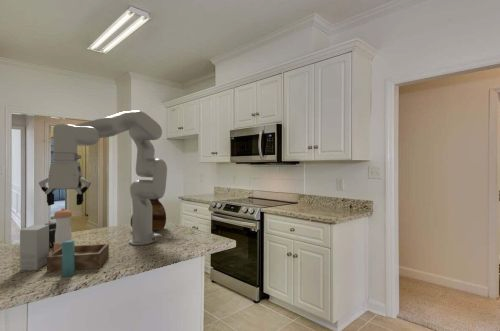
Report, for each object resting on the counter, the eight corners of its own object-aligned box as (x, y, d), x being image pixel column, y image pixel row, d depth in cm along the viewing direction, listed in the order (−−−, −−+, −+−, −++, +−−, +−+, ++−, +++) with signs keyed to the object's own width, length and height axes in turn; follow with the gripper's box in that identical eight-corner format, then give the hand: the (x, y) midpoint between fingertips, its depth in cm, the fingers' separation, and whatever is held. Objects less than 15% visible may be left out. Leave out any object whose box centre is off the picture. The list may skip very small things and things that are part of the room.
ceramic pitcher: (165, 233, 168) (165, 180, 167) (127, 235, 163) (127, 181, 163) (167, 225, 187) (167, 178, 186) (133, 227, 183) (133, 179, 182)
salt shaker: (52, 252, 132) (52, 210, 131) (55, 248, 138) (54, 207, 138) (71, 250, 135) (71, 209, 135) (73, 246, 142) (72, 206, 141)
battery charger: (44, 249, 137) (44, 224, 137) (42, 247, 139) (42, 223, 139) (61, 245, 142) (61, 222, 142) (59, 244, 145) (58, 221, 145)
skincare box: (33, 263, 118) (33, 224, 118) (50, 262, 119) (50, 224, 119) (18, 270, 110) (18, 229, 110) (37, 270, 111) (37, 229, 110)
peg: (76, 272, 109) (75, 240, 108) (72, 276, 105) (72, 242, 105) (64, 273, 108) (64, 240, 108) (60, 277, 104) (60, 243, 104)
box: (108, 256, 127) (108, 243, 127) (99, 268, 113) (99, 253, 113) (62, 259, 123) (62, 246, 123) (46, 271, 109) (46, 256, 109)
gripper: (94, 158, 113) (94, 203, 113) (45, 158, 110) (45, 203, 111) (86, 158, 106) (86, 205, 106) (33, 157, 103) (33, 206, 103)
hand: (65, 204), depth 108 cm, fingers open, 9 cm apart
